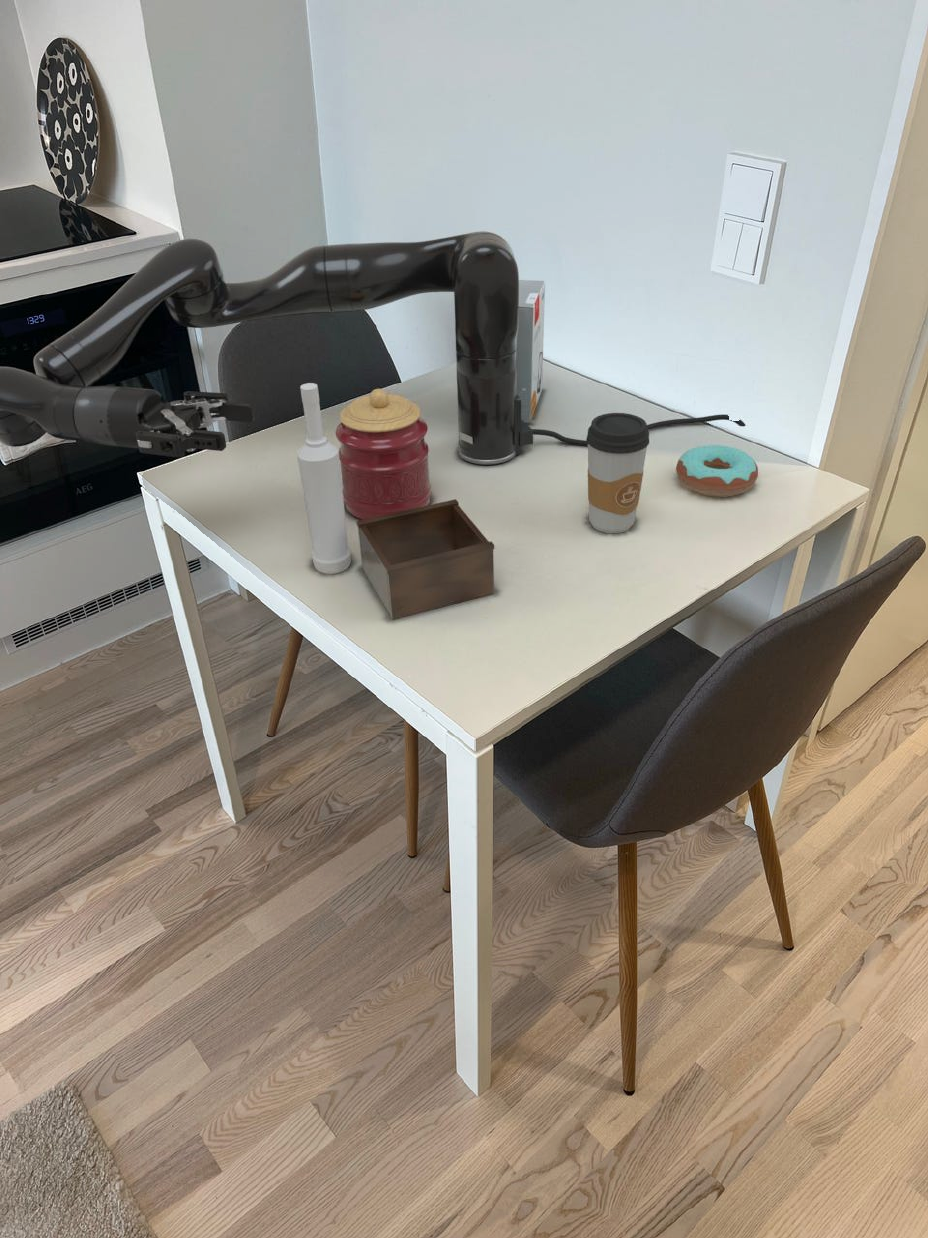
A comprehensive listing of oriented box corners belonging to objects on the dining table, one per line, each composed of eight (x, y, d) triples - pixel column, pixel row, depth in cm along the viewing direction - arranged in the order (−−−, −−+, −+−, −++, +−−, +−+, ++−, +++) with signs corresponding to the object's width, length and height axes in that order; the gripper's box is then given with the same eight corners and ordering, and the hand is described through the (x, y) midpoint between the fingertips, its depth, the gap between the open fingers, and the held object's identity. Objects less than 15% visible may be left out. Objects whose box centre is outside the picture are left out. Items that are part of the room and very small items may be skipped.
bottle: (314, 555, 127) (288, 379, 112) (352, 552, 127) (331, 376, 112) (312, 576, 123) (285, 396, 108) (351, 573, 123) (330, 393, 108)
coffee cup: (603, 543, 127) (610, 442, 118) (570, 517, 133) (574, 419, 124) (653, 528, 130) (664, 428, 121) (618, 503, 136) (626, 406, 127)
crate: (457, 545, 128) (455, 498, 123) (495, 594, 118) (494, 544, 114) (361, 568, 124) (356, 520, 119) (392, 620, 114) (387, 570, 110)
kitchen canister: (411, 530, 131) (402, 413, 121) (328, 517, 135) (314, 402, 125) (444, 489, 141) (439, 377, 131) (366, 477, 145) (356, 367, 135)
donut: (682, 502, 136) (685, 477, 133) (668, 465, 145) (671, 441, 143) (764, 500, 135) (769, 476, 133) (745, 463, 145) (749, 439, 143)
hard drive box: (531, 425, 159) (532, 307, 147) (487, 422, 160) (485, 306, 148) (543, 389, 171) (545, 278, 159) (502, 387, 172) (501, 277, 161)
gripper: (83, 411, 111) (208, 422, 108) (142, 368, 122) (257, 376, 119) (99, 468, 116) (219, 480, 113) (155, 421, 127) (266, 431, 124)
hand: (239, 427), depth 116 cm, fingers open, 8 cm apart
